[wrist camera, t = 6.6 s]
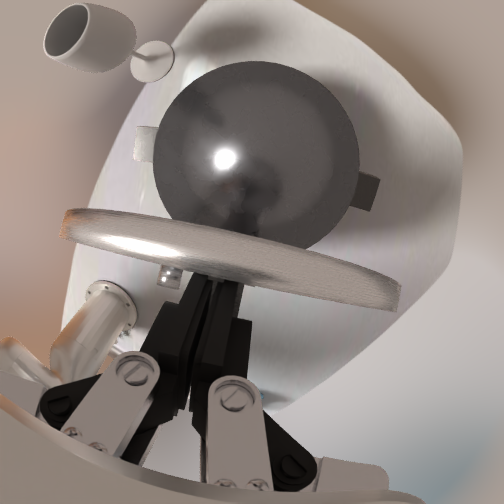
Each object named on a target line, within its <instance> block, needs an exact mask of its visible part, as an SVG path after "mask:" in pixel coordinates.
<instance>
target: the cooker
mask: <svg viewBox="0 0 504 504" xmlns="http://www.w3.org/2000/svg"><path fill="white" fill-rule="evenodd" d="M133 160H137V161H144V162H151V163H153V171H154V177H155V182H156V187H157V190H158V192H159V195H160V198H161V200H162V202H163V204H164V206H165V208H166V210H167V211H168V213H169V214H170V216H171V218H172V219H173V220H179V221H184V222H189V223H194V224H199V225H204V226H209V227H214V228H219V229H223V230H228V231H232V232H237V233H241V234H245V235H250V236H254V237H258V238H262V239H267V240H271V241H275V242H279V243H283V244H287V245H290V246H294V247H298V248H302V249H307V248H309V247H310V246H312V245H313V244H315V243H317V242H318V241H319V240H321V239H322V238H323V237H324V236H326V235H327V234H328V233H329V232H330V231H331V230H332V229H333V228H334V227H335V226H336V225H337V223H338V222H339V221H340V219H341V218H342V217H343V215H344V214H345V212H346V210H347V208H348V206H353V207H356V208H360V209H363V210H366V211H370V210H371V207H372V204H373V201H374V198H375V195H376V192H377V189H378V186H379V182H380V179H379V178H377V177H375V176H373V175H370V174H367V173H364V172H361V171H359V149H358V143H357V138H356V135H355V132H354V129H353V126H352V124H351V121H350V119H349V117H348V115H347V113H346V112H345V110H344V109H343V107H342V106H341V104H340V103H339V101H338V100H337V99H336V98H335V97H334V96H333V95H332V94H331V92H330V91H329V90H328V89H326V88H325V87H324V86H323V85H322V84H320V83H319V82H318V81H316V80H315V79H313V78H312V77H310V76H308V75H307V74H305V73H303V72H301V71H299V70H296V69H294V68H292V67H288V66H285V65H281V64H278V63H271V62H264V61H248V62H240V63H233V64H230V65H226V66H222V67H219V68H217V69H215V70H212V71H210V72H208V73H206V74H204V75H203V76H201V77H199V78H198V79H196V80H194V81H193V82H192V83H191V84H189V85H188V86H187V87H186V88H185V89H184V90H183V91H182V92H181V93H180V94H179V95H178V96H177V97H176V98H175V99H174V101H173V102H172V103H171V105H170V106H169V108H168V109H167V111H166V113H165V115H164V117H163V119H162V120H161V123H160V125H159V128H158V127H148V126H137V130H136V137H135V145H134V154H133Z"/></svg>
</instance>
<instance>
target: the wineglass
mask: <svg viewBox="0 0 504 504" xmlns="http://www.w3.org/2000/svg"><path fill="white" fill-rule="evenodd" d="M43 44H44V45H43V47H44V52H45V54H46V55H47V56H48V57H50V58H51V59H53V60H55V61H57V62H59V63H61V64H64V65H66V66H69V67H72V68H74V69H77V70H81V71H85V72H91V73H98V72H105V71H108V70H111V69H113V68H115V67H117V66H119V65H120V64H121V63H123V62H124V61H125V60H126V59H127V58H128V57H129V55H132V56H133V58H132V60H131V72H132V74H133V76H134V77H135V78H136V79H138V80H139V81H142V82H154V81H157V80H159V79H161V78H162V77H164V76H165V75H166V74H167V73H168V71H169V70H170V68H171V66H172V64H173V59H174V55H173V51H172V49H171V47H170V46H169V45H168V44H166V43H165V42H161V41H152V42H148V43H146V44H144V45H142V46H141V47H140V48H139V49H138V50H137V51H136V52H135V51H133V49H134V46H135V44H136V29H135V26H134V24H133V22H132V21H131V20H130V19H129V18H128V17H127V16H125V15H124V14H122V13H120V12H118V11H116V10H113V9H110V8H107V7H103V6H100V5H94V4H88V3H75V4H71V5H69V6H67V7H66V8H64V9H63V10H62V11H60V12H59V14H57V16H55V18H54V19H53V20H52V22H51V23H50V25H49V27H48V29H47V31H46V34H45V37H44V42H43Z"/></svg>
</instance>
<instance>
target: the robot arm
mask: <svg viewBox="0 0 504 504" xmlns="http://www.w3.org/2000/svg"><path fill="white" fill-rule="evenodd" d="M208 278H209V276H208V275H204V274H199V273H195V272H194V273H193V275H192V277H191V279H190V281H189V283H188V285H187V287H186V290H185V292H184V294H183V296H182V298H181V300H180V303H179V304H175V303H171V302H168V301H166V302H165V303H164V304H163V306H162V308H161V310H160V312H159V314H158V315H157V317H156V319H155V321H154V323H153V325H152V327H151V329H150V331H149V333H148V335H147V337H146V339H145V341H144V343H143V345H142V347H141V349H140V351H129V352H124V353H122V354H120V355H118V356H117V357H116V358H115V359H114V360H113V361H112V362H111V364H110V365H109V366H108V368H107V369H106V370H105V371H104V373H102V374H99V375H96V374H97V372H98V370H99V369H100V367H101V365H102V364H103V362H104V360H105V358H106V357H107V355H108V353H109V351H110V350H111V348H112V346H113V345H114V344H117V342H118V341H117V338H118V336H119V335H120V333H121V331H127V330H129V329H131V328H132V327H133V325H134V324H135V322H136V319H137V311H136V307H135V305H134V303H133V301H132V300H131V298H130V297H129V296H128V295H127V293H125V292H124V291H123V290H122V289H121V288H119V287H118V286H116V285H114V284H112V283H110V282H106V281H97V282H94V283H93V284H91V285H90V286H89V287H88V289H87V291H86V296H85V299H86V302H85V303H84V304H83V306H82V307H81V308H80V309H79V310H78V312H77V313H76V314H75V315H74V317H73V318H72V319H71V320H70V322H69V323H68V324H67V325H66V327H65V328H64V329H63V330H62V332H61V333H60V334H59V336H58V337H57V338H56V340H55V341H54V342H53V344H52V346H51V349H50V357H49V359H50V370H49V369H48V368H47V367H45V366H44V365H43V364H42V363H41V362H40V361H39V360H38V359H36V357H35V356H34V355H33V354H32V353H31V352H30V351H29V350H28V349H27V348H25V346H23V345H22V344H21V343H20V342H19V341H18V340H17V339H15V338H13V337H6V338H4V339H2V340H1V341H0V504H426V503H425V502H424V501H423V500H421V499H420V498H418V497H416V496H413V495H411V494H408V493H403V492H399V491H391V490H388V488H389V478H388V475H387V473H386V471H385V470H384V469H382V468H381V467H379V466H376V465H371V464H363V463H355V462H349V461H344V460H338V459H333V458H328V457H323V458H322V459H321V458H316V457H313V456H312V455H311V454H310V453H309V452H308V451H307V450H306V449H305V448H304V447H302V446H301V445H300V444H299V443H298V442H297V441H296V440H294V439H293V438H292V437H291V436H290V435H289V434H288V433H287V432H286V431H285V430H284V429H283V428H281V427H280V426H279V425H278V424H277V423H276V422H275V421H274V420H273V419H272V418H271V417H270V416H269V415H268V414H267V413H266V412H265V411H264V410H263V408H262V400H261V395H260V392H259V390H258V389H257V387H256V386H255V385H254V384H253V383H252V382H250V381H249V380H247V371H248V361H249V351H250V341H251V331H252V321H249V320H244V319H240V318H235V317H232V315H233V310H234V304H235V299H236V294H237V289H238V284H239V282H235V281H231V280H226V279H224V282H223V283H222V282H217V285H216V289H215V292H214V295H213V298H212V301H211V305H210V299H211V293H212V287H213V280H209V279H208ZM209 305H210V308H209ZM190 387H191V393H190V404H189V412H193V417H192V426H193V427H194V428H195V429H196V431H197V432H198V433H199V434H200V482H196V481H192V480H187V479H183V478H179V477H175V476H171V475H167V474H164V473H160V472H157V471H153V470H150V469H147V468H144V467H142V465H143V464H144V462H145V460H146V458H147V456H148V454H149V452H150V450H151V448H152V446H153V444H154V442H155V440H156V438H157V436H158V434H159V432H160V430H161V429H162V425H163V423H166V422H168V421H170V420H172V419H173V416H177V413H178V409H182V410H184V409H185V405H186V402H187V399H188V395H189V391H190Z"/></svg>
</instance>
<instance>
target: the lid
mask: <svg viewBox="0 0 504 504" xmlns="http://www.w3.org/2000/svg"><path fill="white" fill-rule="evenodd" d="M59 238H63V239H66V240H70V241H73V242H77V243H80V244H84V245H88V246H91V247H95V248H99V249H102V250H106V251H110V252H114V253H118V254H121V255H125V256H129V257H133V258H137V259H141V260H145V261H149V262H153V263H157V264H161V267H160V272H159V277H158V281H157V285H160V286H164V287H168V288H172V289H179V286H180V281H181V277H182V272H183V270H186V271H191V272H195V273H199V274H204V275H208V276H209V278H208V279H209V280H213V287H212V293H211V299H210V305H211V301H212V298H213V295H214V292H215V289H216V285H217V282H222V283H223V282H224V279H226V280H231V281H235V282H239V284H238V289H237V294H236V299H235V304H234V310H233V315H232V317H235V318H237V316H238V311H239V307H240V302H241V297H242V293H243V288H244V285H248V286H253V287H255V286H258V287H263V288H268V289H273V290H278V291H283V292H288V293H293V294H298V295H303V296H308V297H313V298H319V299H324V300H329V301H335V302H340V303H346V304H351V305H357V306H363V307H369V308H375V309H381V310H387V311H393V312H397V307H398V302H399V297H400V291H401V285H400V284H399V283H398V282H397V281H395V280H393V279H392V278H390V277H388V276H385V275H383V274H380V273H378V272H376V271H373V270H370V269H367V268H364V267H362V266H359V265H356V264H353V263H350V262H347V261H343V260H340V259H337V258H333V257H330V256H327V255H323V254H320V253H317V252H313V251H309V250H305V249H302V248H298V247H294V246H290V245H287V244H283V243H279V242H275V241H271V240H267V239H262V238H258V237H254V236H250V235H245V234H241V233H237V232H232V231H228V230H223V229H219V228H214V227H209V226H204V225H199V224H194V223H189V222H184V221H179V220H173V219H167V218H161V217H155V216H149V215H143V214H137V213H130V212H122V211H114V210H105V209H90V208H74V209H69V210H67V211H66V212H65V214H64V218H63V222H62V226H61V230H60V234H59ZM210 305H209V308H210Z"/></svg>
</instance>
